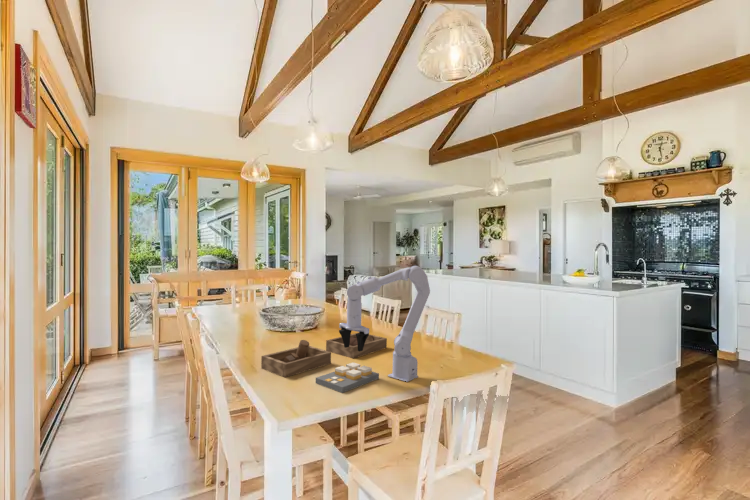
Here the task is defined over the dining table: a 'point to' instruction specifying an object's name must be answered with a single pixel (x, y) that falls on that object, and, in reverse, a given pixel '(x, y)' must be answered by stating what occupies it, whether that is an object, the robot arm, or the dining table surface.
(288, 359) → the wooden block set
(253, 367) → the dining table surface
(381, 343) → the trays
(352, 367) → the button
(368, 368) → the button
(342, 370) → the button
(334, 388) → the board
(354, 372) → the button
